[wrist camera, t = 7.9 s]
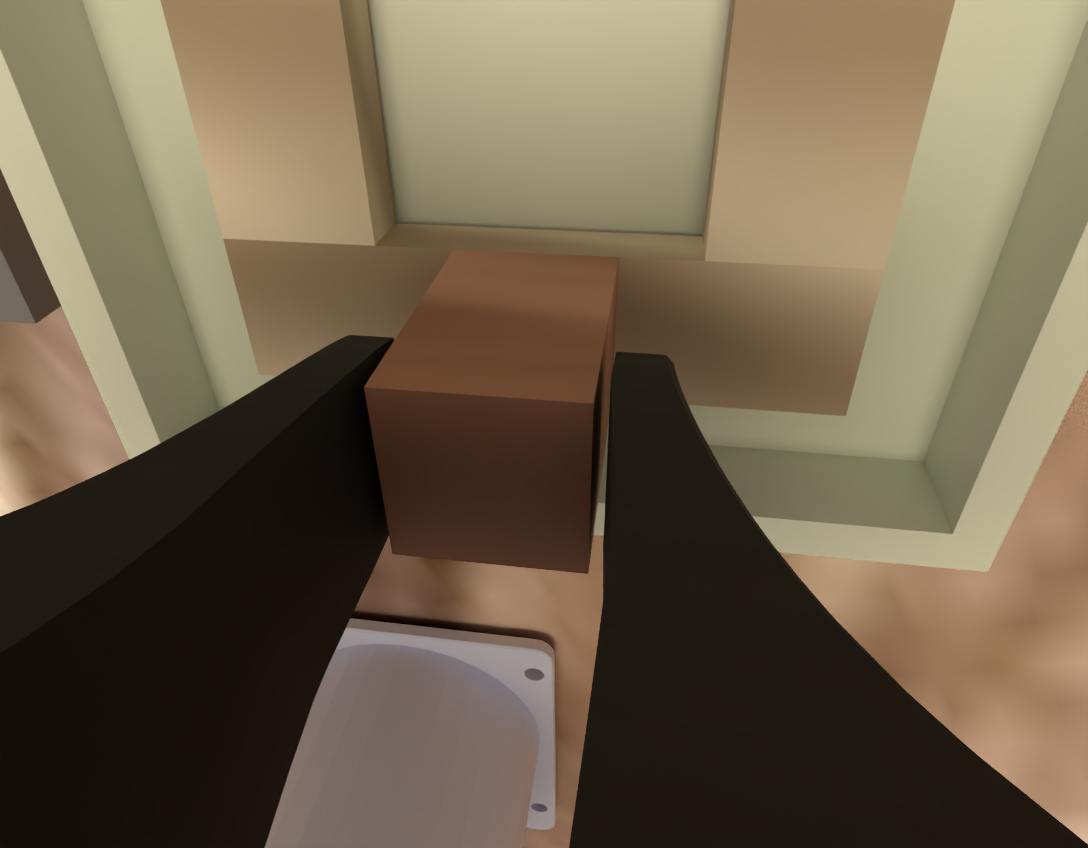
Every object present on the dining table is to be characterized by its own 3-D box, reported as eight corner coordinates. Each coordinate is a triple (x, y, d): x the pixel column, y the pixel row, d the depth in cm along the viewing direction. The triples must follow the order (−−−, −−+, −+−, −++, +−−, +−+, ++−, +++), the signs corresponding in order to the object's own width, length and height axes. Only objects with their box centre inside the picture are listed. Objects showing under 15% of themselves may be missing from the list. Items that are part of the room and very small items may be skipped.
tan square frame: (835, 383, 13) (907, 606, 9) (283, 347, 14) (123, 527, 10) (1055, -511, 7) (1551, -1059, 3) (97, -438, 8) (-446, -758, 4)
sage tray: (947, 477, 15) (987, 572, 13) (207, 418, 17) (144, 492, 15) (1599, -1151, 5) (2119, -1725, 3) (-236, -852, 7) (-569, -1112, 5)
